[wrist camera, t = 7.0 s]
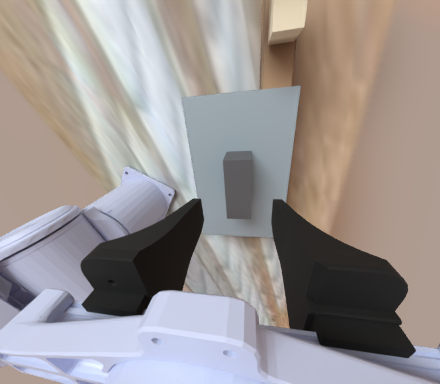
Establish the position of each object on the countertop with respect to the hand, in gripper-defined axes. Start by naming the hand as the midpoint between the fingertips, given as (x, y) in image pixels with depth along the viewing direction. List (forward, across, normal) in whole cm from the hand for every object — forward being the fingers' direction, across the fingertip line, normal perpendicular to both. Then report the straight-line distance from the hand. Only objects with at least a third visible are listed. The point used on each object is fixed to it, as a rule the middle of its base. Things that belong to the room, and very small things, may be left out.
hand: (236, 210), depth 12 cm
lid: (+7, 0, 0) cm, 7 cm away
